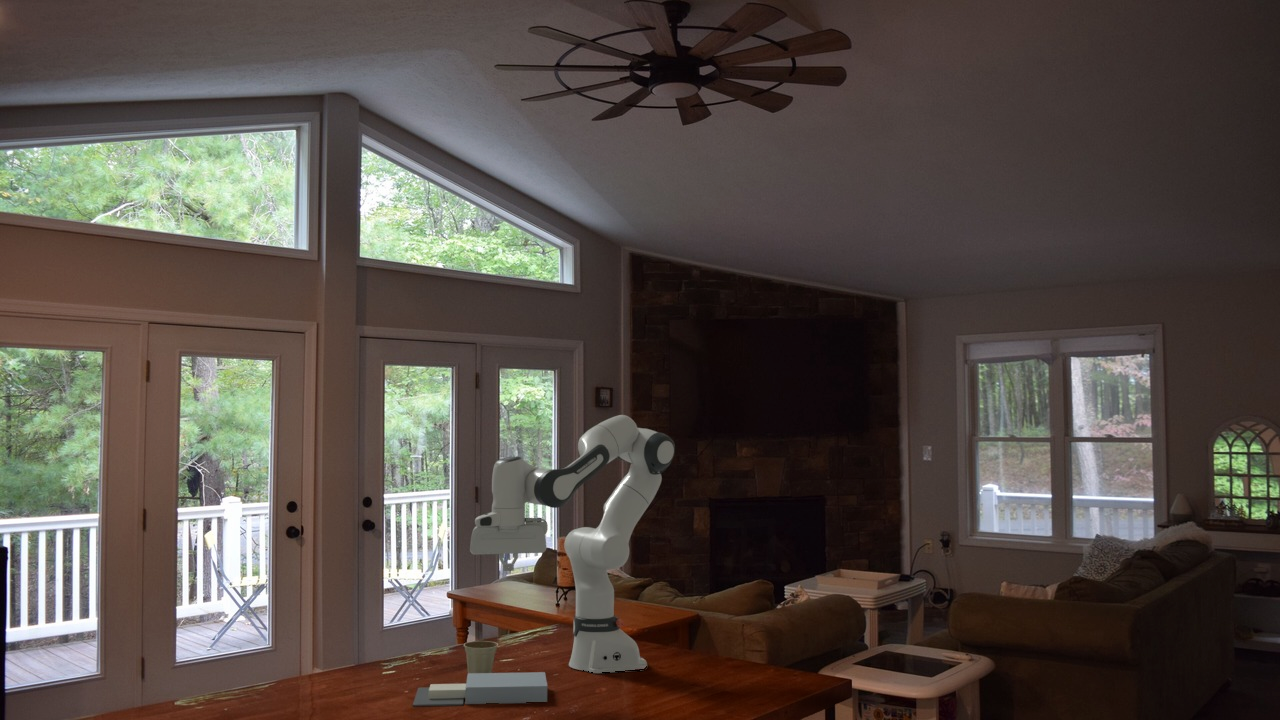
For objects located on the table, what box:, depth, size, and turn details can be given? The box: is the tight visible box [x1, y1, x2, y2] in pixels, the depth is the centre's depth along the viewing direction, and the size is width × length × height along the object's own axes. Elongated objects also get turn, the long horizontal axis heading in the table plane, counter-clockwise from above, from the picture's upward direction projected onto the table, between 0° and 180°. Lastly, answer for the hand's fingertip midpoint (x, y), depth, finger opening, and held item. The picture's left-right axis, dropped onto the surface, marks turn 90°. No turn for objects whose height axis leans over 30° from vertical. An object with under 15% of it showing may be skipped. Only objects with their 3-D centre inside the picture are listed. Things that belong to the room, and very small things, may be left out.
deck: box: [464, 671, 548, 705], centre depth 245 cm, size 20×14×4 cm
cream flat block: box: [429, 683, 466, 699], centre depth 243 cm, size 9×6×2 cm, turn 98°
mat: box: [412, 686, 465, 707], centre depth 243 cm, size 12×16×1 cm
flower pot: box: [463, 640, 499, 674], centre depth 264 cm, size 9×9×9 cm
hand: (508, 570), depth 257 cm, fingers closed
